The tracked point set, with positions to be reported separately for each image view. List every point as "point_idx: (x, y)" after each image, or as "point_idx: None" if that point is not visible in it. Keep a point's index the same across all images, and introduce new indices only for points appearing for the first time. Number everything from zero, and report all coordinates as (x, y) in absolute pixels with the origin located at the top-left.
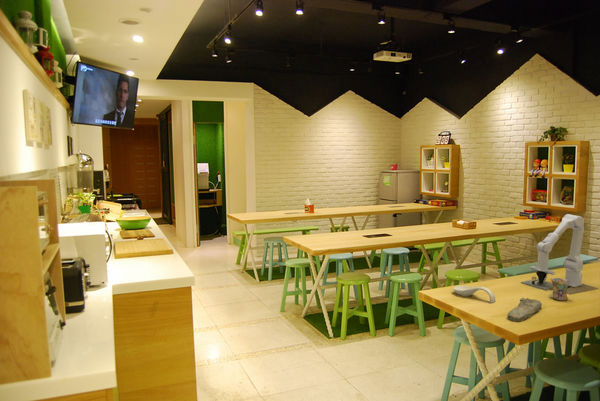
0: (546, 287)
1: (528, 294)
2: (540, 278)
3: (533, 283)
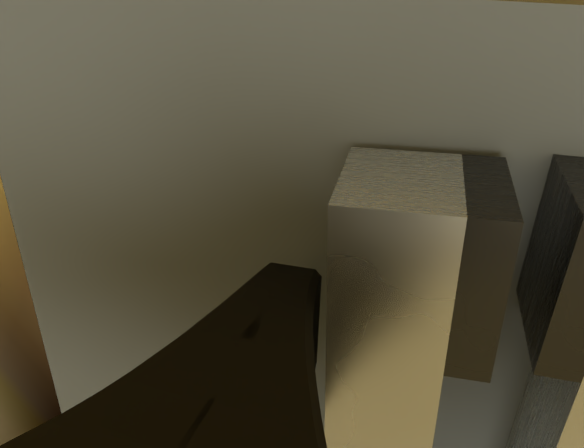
0: (79, 186)
1: None
2: (170, 395)
3: (542, 216)
